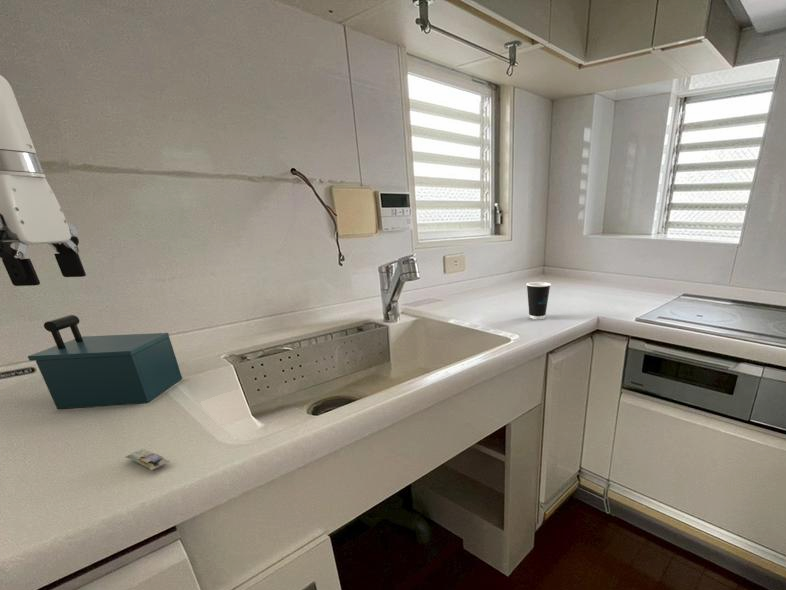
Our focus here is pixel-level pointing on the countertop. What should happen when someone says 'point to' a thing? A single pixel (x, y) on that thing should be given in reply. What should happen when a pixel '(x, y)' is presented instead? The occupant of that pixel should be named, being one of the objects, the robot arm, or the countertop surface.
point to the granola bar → (147, 459)
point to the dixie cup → (537, 299)
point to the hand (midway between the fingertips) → (52, 280)
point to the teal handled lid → (92, 342)
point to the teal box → (111, 377)
